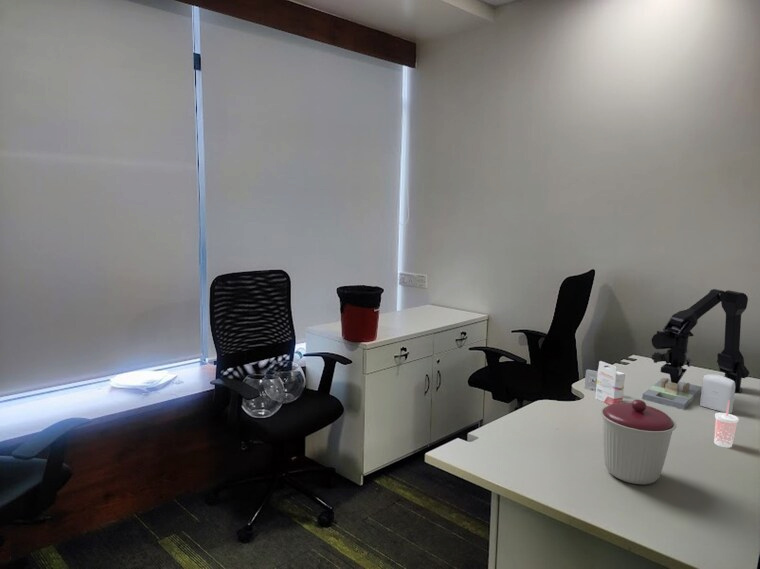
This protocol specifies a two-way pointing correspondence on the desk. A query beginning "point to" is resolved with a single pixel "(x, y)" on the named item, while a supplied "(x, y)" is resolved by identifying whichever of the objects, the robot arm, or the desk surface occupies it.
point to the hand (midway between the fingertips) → (673, 386)
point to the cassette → (591, 380)
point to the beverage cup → (725, 428)
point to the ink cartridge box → (609, 384)
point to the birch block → (672, 387)
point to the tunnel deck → (675, 400)
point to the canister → (635, 441)
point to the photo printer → (717, 393)
